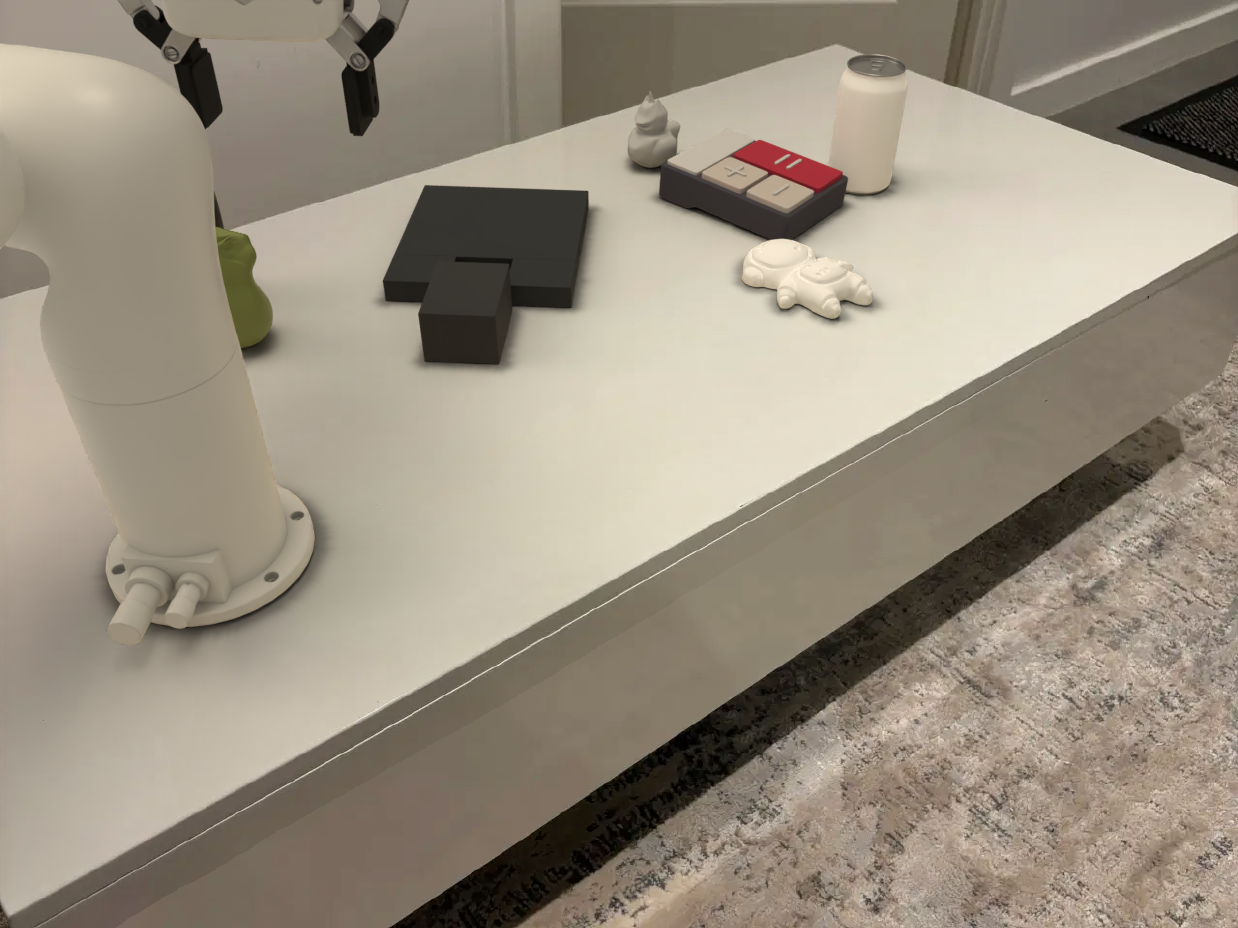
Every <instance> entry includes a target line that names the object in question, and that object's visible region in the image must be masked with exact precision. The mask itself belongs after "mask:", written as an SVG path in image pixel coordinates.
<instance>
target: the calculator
mask: <svg viewBox="0 0 1238 928" xmlns="http://www.w3.org/2000/svg"><path fill="white" fill-rule="evenodd" d="M847 182H848V177H847V176H845V175H843V172H842V171H840V170H837V169H835V168H832V167H830V166H828V164H824V163H823V162H820V161H817V160H814V159H811V158H809V157H806V156H804V155H802V154H799V153H796V152H793V151H791V150H788V149H786V148H783V147H781V146H778V145H775V144H773V143H770V142H768V141H765V140H762V139H758V140H757V139H754V138H753V137H751V136H747V135H745V134H743V133H740V132H738V131H735V130H732V129H730V128H723V129H722V130H720V131H718V132H716V133H714V134H712V135H711V136H708V137H706V138H705V139H703V140H701V141H699V142H698V143H696V144H694V145H693V146H690V147H688V148H687V149H685V150H683V151H681V152H679V153H678V154H677V153H676V156H674V157H672V158H670V159H668V160H666V161H665V162H663V163H662V164H661V165H660V174H659V189H658V196H659V197H660V198H662V199H664V200H665V201H668V202H671V203H672V204H675V205H677V206H680V207H682V208H684V209H686V210H687V209H688V210H689V209H693V208H697V209H700V210H701V211H704V212H706V213H709V214H711V215H713V216H715V217H718V218H720V219H722V220H725V221H726V222H729V223H732V224H734V225H736V226H738V227H740V228H743V229H746V230H747V231H750V232H752V233H754V234H757V235H759V236H761V237H764V238H766V239H768V240H774V239H788V240H794V239H796V238H797V237H799V236H800V235H801V234H803V233H804V232H805V231H807V230H809V229H810V228H811V227H813V226H814V225H816V224H817V223H818V222H820V221H822V220H823V219H825V218H826V217H827V216H829V215H830V214H831V213H833V212H835V211H836V210H837V209H839V208H840V207H842V206H843V205H844V202H845V197H846V187H847Z"/></svg>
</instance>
